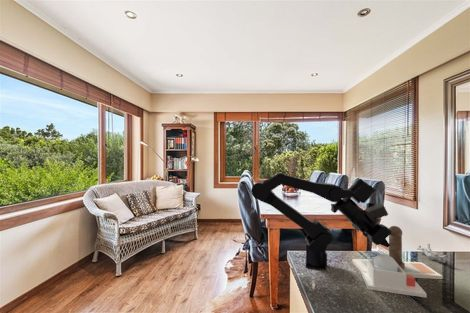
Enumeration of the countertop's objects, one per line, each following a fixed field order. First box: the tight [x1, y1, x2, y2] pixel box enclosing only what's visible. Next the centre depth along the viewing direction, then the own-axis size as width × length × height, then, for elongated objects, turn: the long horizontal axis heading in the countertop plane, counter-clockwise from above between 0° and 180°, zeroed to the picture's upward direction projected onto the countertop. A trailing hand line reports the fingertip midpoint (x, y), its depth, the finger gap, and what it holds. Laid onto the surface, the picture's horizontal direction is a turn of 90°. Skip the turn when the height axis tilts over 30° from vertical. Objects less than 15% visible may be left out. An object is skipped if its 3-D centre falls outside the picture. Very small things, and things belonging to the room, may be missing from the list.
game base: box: [361, 258, 428, 298], centre depth 71 cm, size 14×9×6 cm, turn 72°
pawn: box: [388, 225, 405, 269], centre depth 81 cm, size 5×5×13 cm
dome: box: [373, 253, 397, 272], centre depth 71 cm, size 6×6×6 cm
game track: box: [352, 258, 444, 280], centre depth 81 cm, size 23×10×1 cm, turn 82°
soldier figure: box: [416, 242, 448, 264], centre depth 89 cm, size 8×5×12 cm
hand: (388, 246), depth 81 cm, fingers closed
